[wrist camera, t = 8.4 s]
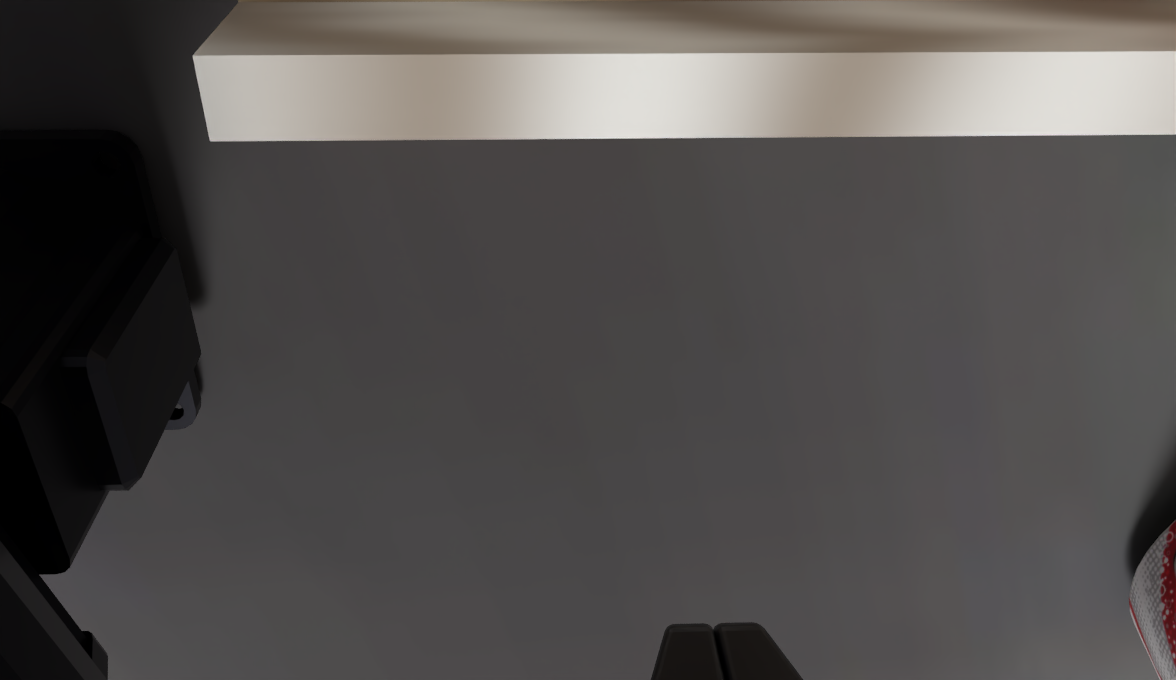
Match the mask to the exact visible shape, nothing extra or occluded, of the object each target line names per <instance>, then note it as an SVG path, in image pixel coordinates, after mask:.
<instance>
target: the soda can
mask: <svg viewBox="0 0 1176 680" xmlns="http://www.w3.org/2000/svg"><path fill="white" fill-rule="evenodd" d="M1129 604H1130V613H1131V616H1132V619H1133V621H1134V624H1135V626H1136V629H1137V631H1138V633H1139V635H1140V637H1141V639H1142V642H1143V644H1144V646H1145V648H1146V650H1147V652H1148V655H1149V657H1150V659H1151V661H1152V663H1153V666H1154V668H1155V670H1156V672H1157V674H1158V676H1159V679H1160V680H1176V520H1175V521H1174V522H1173V523H1172V524H1171V525H1170V526H1169V527H1168V528H1167V529H1166V530H1165V531H1164V532H1163V533H1162V534H1161V535H1160V536H1159V537H1158V538H1157V540H1156V541H1155V542H1154V543H1153V545H1152V546H1151V547H1150V548H1149V550H1148V551H1147V552H1146V554H1145V556H1144V557H1143V559H1142V561H1141V562H1140V564H1139V566H1138V568H1137V570H1136V572H1135V575H1134V578H1133V580H1132V583H1131V589H1130V595H1129Z"/></svg>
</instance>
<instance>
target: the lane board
mask: <svg viewBox="0 0 1176 680" xmlns="http://www.w3.org/2000/svg"><path fill="white" fill-rule="evenodd" d="M238 1H239V3H238V4H237V5H236V6H235V7H234V8H233V9H232V11H231V12H230V13H229V14H228V15H227V16H226V18H225V19H224V20H223V21H222V22H221V23H220V24H219V26H218V27H217V28H216V29H215V30H214V31H213V33H212V34H211V35H210V36H209V37H208V38H207V39H206V41H205V42H204V43H203V44H202V45H201V46H200V48H199V49H198V50H197V51H196V52H195V53H194V54H193V61H194V66H195V70H196V75H197V80H198V85H199V90H200V95H201V100H202V105H203V110H204V115H205V119H206V124H207V129H208V134H209V139H210V141H332V140H471V139H610V138H749V137H888V136H1027V135H1165V134H1176V0H238Z"/></svg>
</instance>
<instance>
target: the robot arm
mask: <svg viewBox="0 0 1176 680" xmlns="http://www.w3.org/2000/svg"><path fill="white" fill-rule="evenodd" d="M102 151H103V152H107V153H111V154H112V155H113V156H115V157H116V158H117V159H118V161H119V163H120V164H121V168H120V169H114V168H109V167H108V166H107V165H105V164H104V163H103V162H102V160H101V158H100V157H99V152H102ZM200 355H201V349H200V345H199V341H198V337H197V333H196V328H195V324H194V320H193V316H192V311H191V307H190V303H189V299H188V295H187V290H186V286H185V282H184V278H183V274H182V269H181V265H180V261H179V257H178V252H177V249H176V248H175V247H174V246H173V245H172V244H171V243H170V242H169V241H168V240H166V239H165V238H162V237H161V233H160V229H159V225H158V221H157V217H156V213H155V208H154V204H153V200H152V196H151V192H150V188H149V184H148V180H147V176H146V172H145V168H144V164H143V159H142V156H141V153H140V151H139V149H138V147H137V145H136V144H135V143H134V142H133V141H132V140H131V139H130V138H129V137H127V136H125V135H123V134H121V133H119V132H116V131H110V130H36V131H0V680H108V656H107V653H106V651H105V650H104V649H103V648H102V646H101V645H100V644H99V642H98V641H97V640H96V638H95V637H94V636H93V634H92V633H91V632H89V631H81V629H80V628H79V627H78V626H77V624H76V623H75V622H74V620H73V619H72V618H71V616H70V615H69V614H68V612H67V611H66V610H65V608H64V607H63V606H62V604H61V603H60V602H59V601H58V599H57V598H56V597H55V595H54V594H53V593H52V591H51V590H50V589H49V587H48V586H47V585H46V583H45V582H44V581H43V580H42V578H41V577H40V576H39V574H59V573H63V572H65V571H66V570H67V569H68V568H69V567H70V566H71V564H72V562H73V560H74V558H75V556H76V554H77V552H78V550H79V549H80V547H81V545H82V543H83V541H84V539H85V537H86V535H87V533H88V531H89V529H90V527H91V525H92V523H93V521H94V519H95V518H96V516H97V514H98V512H99V510H100V508H101V506H102V504H103V502H104V500H105V498H106V496H107V494H108V492H109V491H121V490H129V489H130V488H131V487H132V486H133V485H134V484H135V483H136V482H137V481H138V480H139V479H140V478H141V477H142V475H143V473H144V471H145V469H146V467H147V465H148V462H149V460H150V458H151V456H152V454H153V452H154V450H155V448H156V446H157V444H158V442H159V440H160V438H161V436H162V434H163V432H164V430H173V429H182V428H186V427H188V426H189V425H191V424H192V423H193V421H194V420H195V418H196V416H197V414H198V411H199V409H200V407H201V396H200V392H199V388H198V384H197V380H196V376H195V372H194V368H195V366H196V364H197V362H198V360H199V358H200ZM177 403H178V404H180V405H181V406H182V408H181V409H178V408H175V407H176V405H177ZM651 680H803V679H802V677H801V676H800V675H799V673H798V672H797V671H796V670H795V668H794V667H793V666H792V664H791V663H790V662H789V660H788V659H787V658H786V656H785V655H784V654H783V652H782V651H781V650H780V648H779V647H778V646H777V644H776V643H775V642H774V640H773V639H772V638H771V636H770V635H769V634H768V633H767V631H766V630H765V629H764V628H763V627H762V626H761V625H759V624H757V623H752V622H747V623H720V624H718V625H716V626H715V627H714V629H712V627H711V626H710V625H708V624H704V623H702V624H672V625H670V626H668V627H667V628H666V630H665V633H664V636H663V639H662V643H661V646H660V650H659V653H658V657H657V660H656V664H655V667H654V671H653V674H652V678H651Z"/></svg>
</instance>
